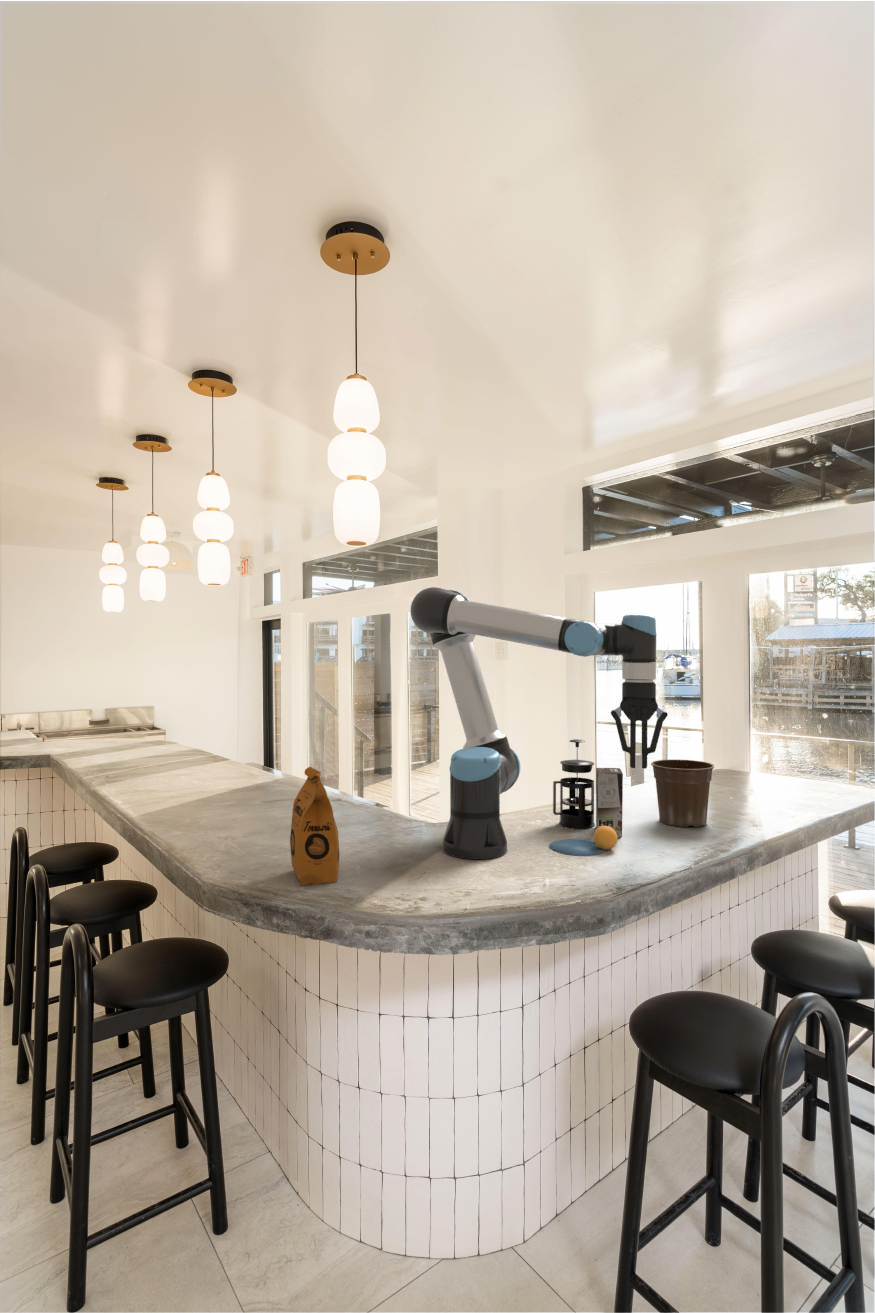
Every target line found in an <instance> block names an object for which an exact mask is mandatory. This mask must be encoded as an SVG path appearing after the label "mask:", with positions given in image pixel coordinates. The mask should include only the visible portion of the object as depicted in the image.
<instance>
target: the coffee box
mask: <svg viewBox="0 0 875 1313" xmlns="http://www.w3.org/2000/svg"><path fill="white" fill-rule="evenodd" d="M595 770H596V772H595V773H596V775H595V777H596V778H595V779H596V780H595V786H596V787H595V791H596V792H595V820H596V821H595V824H596V825H595V827H596V828H595V830H596V829H597V828H599V827H601V826H609V827H611V828H612V829H614V831H615V832H616V834H617V838H622V837H623V798H624V797H623V796H624V795H623V791H624V790H623V789H624V787H623V783H624V782H623V780H624V779H623V778H624V774H623V771H622V769H621V768H620V767H595Z"/></svg>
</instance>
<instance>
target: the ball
mask: <svg viewBox="0 0 875 1313" xmlns="http://www.w3.org/2000/svg"><path fill="white" fill-rule="evenodd" d="M593 841H594V842H595V844H596V845H597V846H598V847H599V848H601V849H603V850H605V851H608V850H611V849H613V848H614V847H615V846H617V843H618V837H617V834H616V832H615V831H614V829H612V828H611V827H609V826H601V827H599V828H597V829H596V828H595V831H594V832H593Z"/></svg>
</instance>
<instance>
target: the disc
mask: <svg viewBox="0 0 875 1313" xmlns="http://www.w3.org/2000/svg"><path fill="white" fill-rule="evenodd" d="M549 848H550V849H551V850H552V851H554V852H556V851H557V853H559V852H560V854H563V853H564V854H563V855H568V854H569V856H570V855H571V856H578V855H579V857H580V856H581V857H582V856H585V857H586V856H588V857H589V856H595V855H599V854H602V853H604V852H605V851H606V850H603V849H601V848H599V847H598V846H597V845H596V844H595V842H594V840H590V839H588V840H587V839H583V838H581V839H580V838H562V839H557V840H556V839H555V840H553V841H551V842H550V843H549Z"/></svg>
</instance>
